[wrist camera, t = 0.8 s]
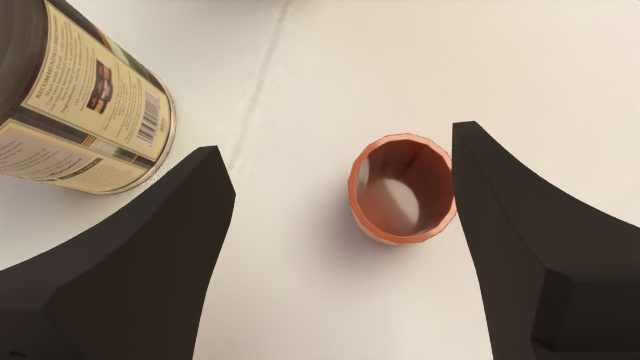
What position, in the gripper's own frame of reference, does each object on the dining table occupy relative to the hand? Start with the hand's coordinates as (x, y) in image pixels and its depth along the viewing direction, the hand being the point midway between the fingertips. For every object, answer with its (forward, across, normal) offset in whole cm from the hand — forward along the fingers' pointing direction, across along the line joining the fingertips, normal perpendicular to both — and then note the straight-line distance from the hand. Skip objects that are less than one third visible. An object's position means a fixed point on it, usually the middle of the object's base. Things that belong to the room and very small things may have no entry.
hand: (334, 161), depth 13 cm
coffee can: (+15, +19, +6) cm, 25 cm away
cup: (+11, -2, +12) cm, 16 cm away
